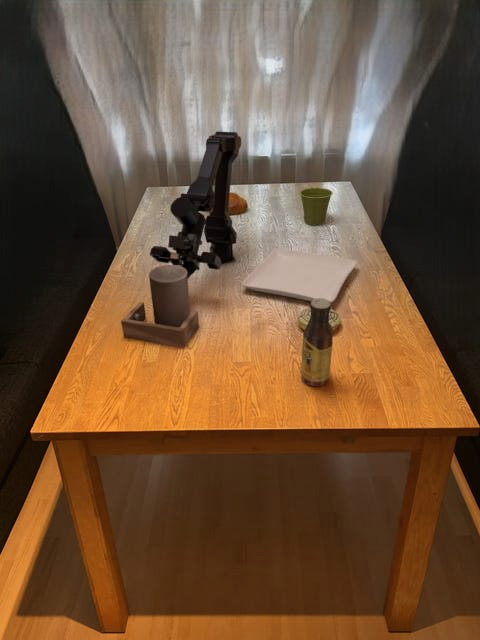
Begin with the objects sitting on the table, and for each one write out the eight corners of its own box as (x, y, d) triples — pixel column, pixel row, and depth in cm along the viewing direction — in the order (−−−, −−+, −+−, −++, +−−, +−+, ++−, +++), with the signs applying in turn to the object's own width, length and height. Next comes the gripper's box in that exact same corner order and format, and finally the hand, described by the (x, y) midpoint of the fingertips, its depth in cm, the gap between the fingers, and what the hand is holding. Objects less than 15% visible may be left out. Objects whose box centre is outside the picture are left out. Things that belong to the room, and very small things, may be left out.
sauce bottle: (298, 371, 119) (301, 294, 108) (325, 369, 119) (331, 292, 109) (303, 390, 113) (307, 310, 103) (332, 387, 114) (339, 308, 103)
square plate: (358, 270, 161) (359, 258, 159) (332, 313, 141) (333, 300, 139) (275, 256, 172) (275, 245, 169) (239, 294, 151) (239, 282, 149)
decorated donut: (348, 324, 135) (349, 312, 133) (323, 343, 129) (324, 330, 127) (314, 311, 141) (315, 299, 139) (289, 327, 135) (290, 315, 133)
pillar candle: (147, 324, 138) (140, 273, 129) (165, 306, 145) (160, 257, 137) (180, 332, 134) (175, 280, 126) (197, 313, 142) (194, 263, 134)
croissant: (246, 221, 203) (248, 201, 199) (206, 217, 202) (207, 197, 198) (246, 207, 215) (249, 188, 211) (208, 203, 214) (210, 184, 210)
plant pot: (336, 219, 196) (338, 190, 190) (322, 230, 188) (324, 199, 182) (307, 214, 202) (308, 185, 196) (292, 224, 193) (293, 194, 187)
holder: (142, 318, 140) (139, 301, 138) (199, 327, 136) (197, 310, 133) (123, 337, 133) (121, 321, 130) (183, 348, 128) (182, 331, 125)
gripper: (148, 217, 138) (133, 273, 135) (215, 224, 133) (201, 282, 130) (164, 234, 148) (151, 286, 145) (227, 241, 143) (214, 295, 140)
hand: (178, 287), depth 140 cm, fingers closed, pressing on pillar candle
